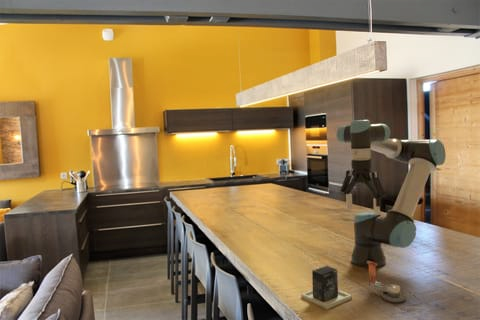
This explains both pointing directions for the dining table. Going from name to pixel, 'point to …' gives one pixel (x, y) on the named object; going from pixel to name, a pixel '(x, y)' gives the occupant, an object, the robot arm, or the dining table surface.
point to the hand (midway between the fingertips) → (362, 212)
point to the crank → (390, 289)
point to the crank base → (394, 298)
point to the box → (325, 283)
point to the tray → (329, 303)
